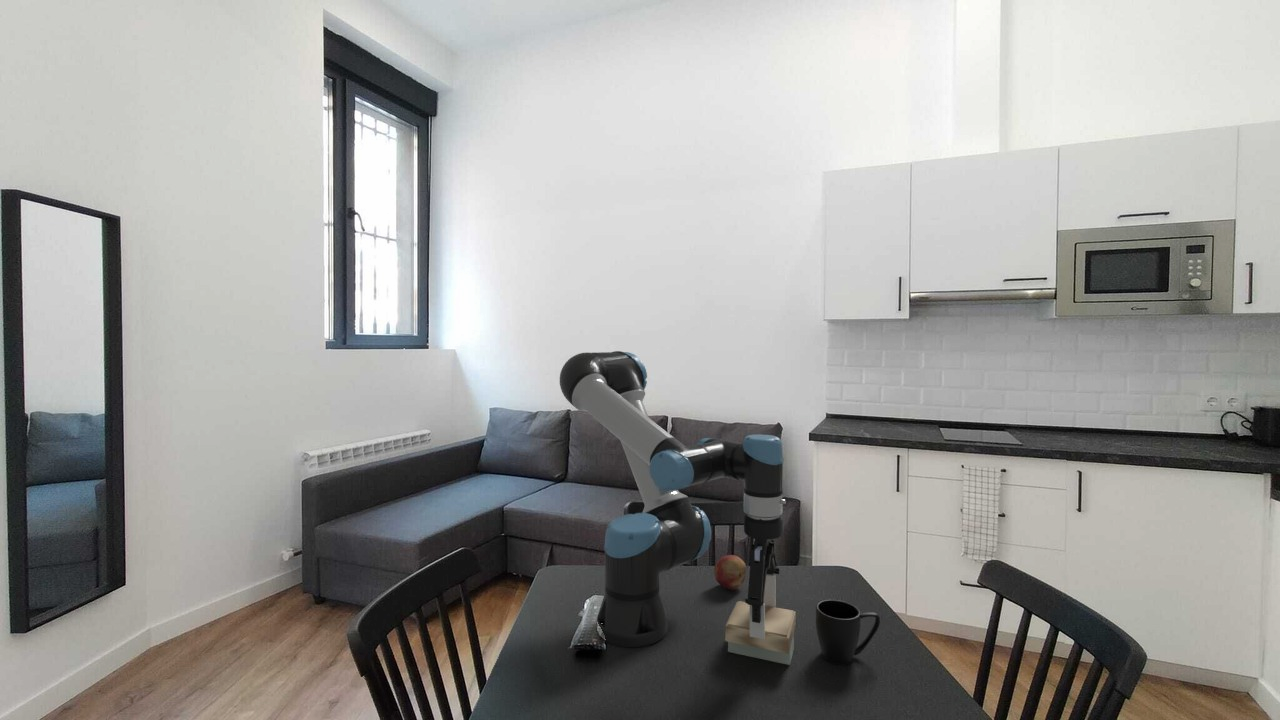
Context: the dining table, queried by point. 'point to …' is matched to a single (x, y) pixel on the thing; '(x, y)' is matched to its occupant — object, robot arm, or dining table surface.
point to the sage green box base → (762, 652)
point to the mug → (841, 630)
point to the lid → (776, 628)
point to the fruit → (730, 571)
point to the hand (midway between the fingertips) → (763, 620)
